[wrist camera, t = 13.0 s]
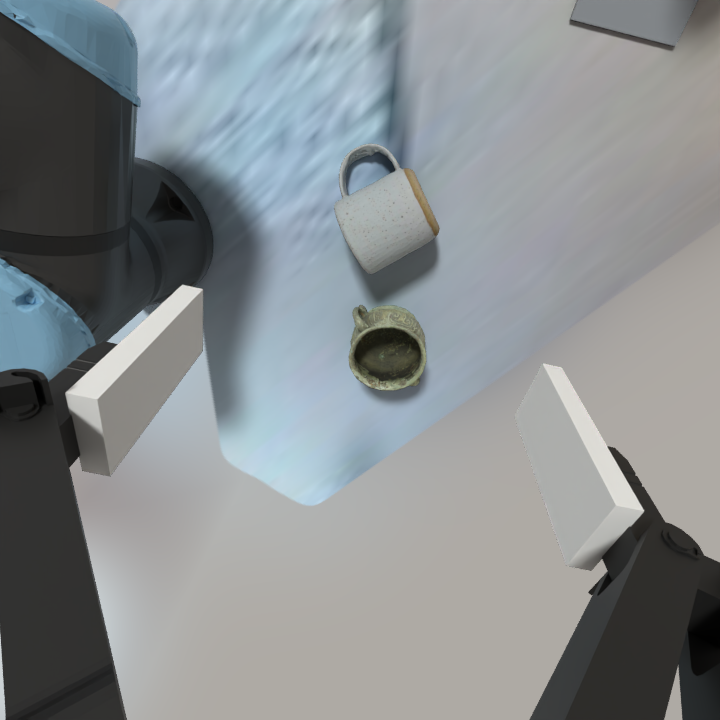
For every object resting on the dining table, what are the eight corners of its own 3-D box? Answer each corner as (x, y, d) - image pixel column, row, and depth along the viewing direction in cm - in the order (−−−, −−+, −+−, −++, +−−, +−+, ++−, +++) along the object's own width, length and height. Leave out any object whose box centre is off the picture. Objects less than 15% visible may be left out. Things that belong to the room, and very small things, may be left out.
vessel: (446, 346, 53) (452, 375, 47) (390, 382, 56) (389, 413, 51) (385, 274, 48) (384, 297, 43) (328, 318, 52) (320, 344, 46)
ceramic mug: (441, 223, 45) (447, 245, 38) (372, 260, 47) (368, 286, 41) (393, 123, 40) (391, 128, 34) (320, 170, 43) (306, 183, 36)
